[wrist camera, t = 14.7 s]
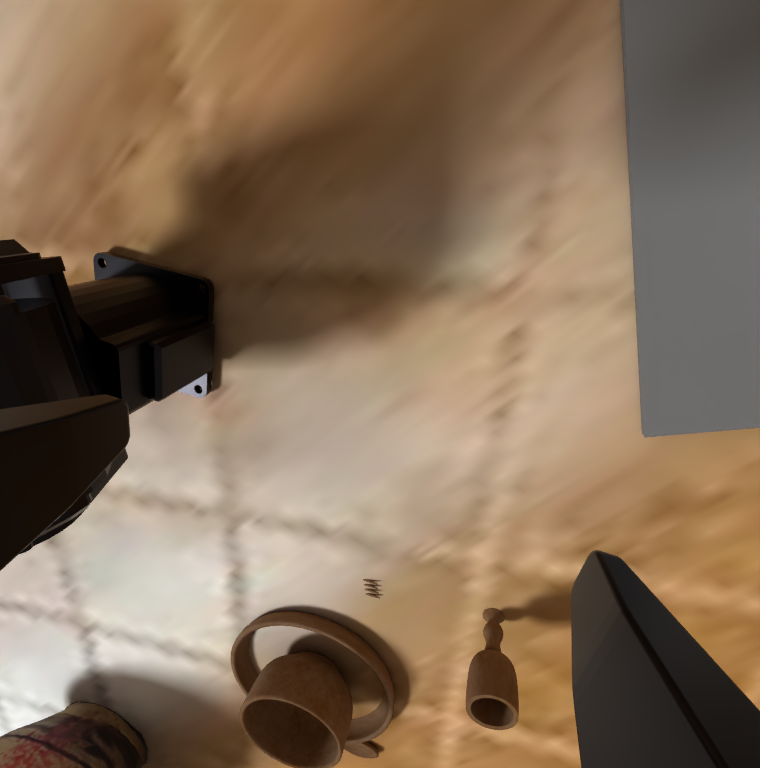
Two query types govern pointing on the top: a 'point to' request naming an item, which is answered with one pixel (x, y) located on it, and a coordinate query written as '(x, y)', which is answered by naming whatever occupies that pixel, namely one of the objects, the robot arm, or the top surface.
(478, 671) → the place setting
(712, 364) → the charcoal rubber mat
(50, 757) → the ceramic jug
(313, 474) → the top surface
